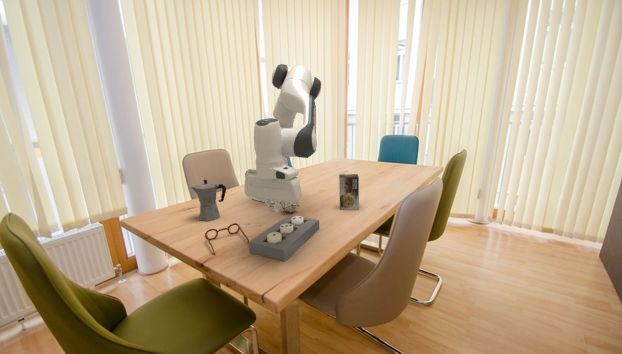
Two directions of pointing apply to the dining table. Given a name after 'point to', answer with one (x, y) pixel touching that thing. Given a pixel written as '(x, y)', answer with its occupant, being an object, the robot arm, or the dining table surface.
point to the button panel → (284, 239)
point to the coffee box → (349, 191)
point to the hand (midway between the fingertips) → (273, 211)
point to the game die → (288, 206)
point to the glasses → (221, 230)
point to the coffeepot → (209, 200)
